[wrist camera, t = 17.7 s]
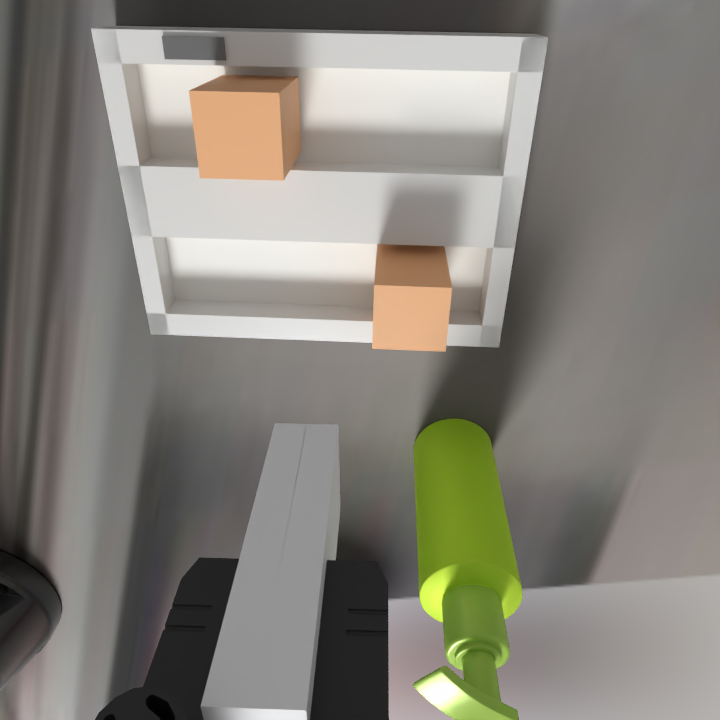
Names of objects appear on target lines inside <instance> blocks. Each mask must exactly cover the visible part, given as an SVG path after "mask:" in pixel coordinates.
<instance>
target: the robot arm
mask: <svg viewBox="0 0 720 720" xmlns="http://www.w3.org/2000/svg"><path fill="white" fill-rule="evenodd" d="M339 518H340V472H339V428H338V425H329V424H287V423H275V425H274V429H273V433H272V436H271V440H270V444H269V448H268V452H267V455H266V459H265V463H264V467H263V471H262V474H261V478H260V482H259V486H258V490H257V493H256V497H255V501H254V505H253V509H252V512H251V516H250V520H249V524H248V528H247V531H246V535H245V539H244V543H243V547H242V550H241V554H240V558H239V559H229V558H199V559H198V560H197V561H196V562H195V563H194V565H193V566H192V567H191V568H190V569H189V571H188V572H187V573H186V574H185V575H184V577H183V578H182V579H181V581H180V584H179V587H178V590H177V593H176V596H175V598H174V601H173V604H172V605H173V606H172V609H171V610H170V613H169V615H168V618H167V621H166V624H165V630H163V632H162V635H161V638H160V641H159V644H158V646H157V649H156V652H155V655H154V658H153V661H152V663H151V666H150V669H149V672H148V675H147V677H146V680H145V683H144V686H143V687H140V688H133V689H131V690H129V691H127V692H125V693H123V694H122V695H120V696H118V697H116V698H114V699H113V700H112V701H111V702H110V703H109V704H108V705H107V706H106V707H105V708H104V709H103V710H101V711H100V712H99V714H98V715H97V717H96V719H95V720H389V716H388V583H387V581H386V579H385V577H384V575H383V573H382V570H381V568H380V566H379V564H378V562H372V561H340V560H336V552H337V541H338V529H339ZM60 618H61V603H60V600H59V598H58V595H57V594H56V592H55V590H54V589H53V587H52V586H51V585H50V584H49V582H48V581H47V580H46V579H45V578H44V577H43V576H42V575H41V574H39V573H38V572H37V571H36V570H34V569H33V568H32V567H30V566H29V565H27V564H26V563H24V562H22V561H21V560H19V559H17V558H15V557H13V556H11V555H9V554H7V553H5V552H2V551H0V691H1V690H2V689H3V688H4V687H5V686H6V685H7V684H8V683H9V682H10V681H11V680H12V679H13V678H14V677H15V676H16V675H17V674H18V673H19V672H20V671H21V669H22V668H23V667H24V666H25V665H26V664H27V663H28V662H29V661H30V660H31V659H32V658H33V657H34V655H35V654H37V653H38V652H39V651H41V650H42V649H43V648H44V646H45V645H46V644H47V642H48V641H49V639H50V638H51V636H52V634H53V632H54V630H55V628H56V626H57V625H58V623H59V621H60Z"/></svg>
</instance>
